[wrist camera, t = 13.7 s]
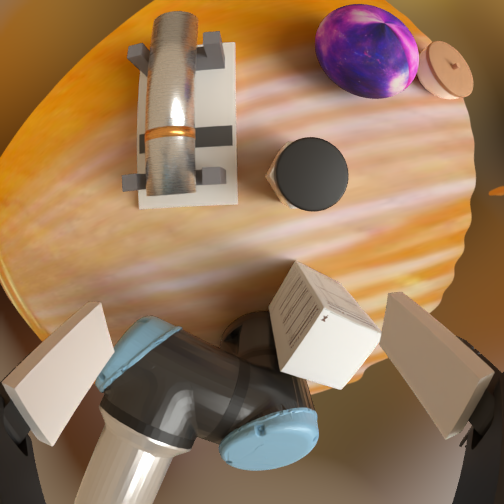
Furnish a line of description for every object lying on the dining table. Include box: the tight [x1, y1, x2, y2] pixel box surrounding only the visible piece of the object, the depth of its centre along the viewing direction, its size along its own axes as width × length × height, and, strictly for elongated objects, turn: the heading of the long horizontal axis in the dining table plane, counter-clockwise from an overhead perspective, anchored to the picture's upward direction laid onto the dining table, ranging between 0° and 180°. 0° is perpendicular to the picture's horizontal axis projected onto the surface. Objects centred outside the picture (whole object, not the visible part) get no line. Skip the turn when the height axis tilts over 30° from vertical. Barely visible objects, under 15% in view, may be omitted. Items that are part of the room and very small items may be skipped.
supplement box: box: [269, 261, 382, 390], centre depth 36 cm, size 10×9×17 cm
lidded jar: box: [417, 41, 473, 99], centre depth 30 cm, size 11×11×9 cm
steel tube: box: [145, 11, 198, 196], centre depth 28 cm, size 24×6×6 cm, turn 1°
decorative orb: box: [315, 4, 419, 99], centre depth 27 cm, size 15×15×15 cm
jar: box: [265, 137, 348, 211], centre depth 33 cm, size 9×8×12 cm
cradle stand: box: [122, 31, 238, 210], centre depth 32 cm, size 26×15×10 cm, turn 1°
